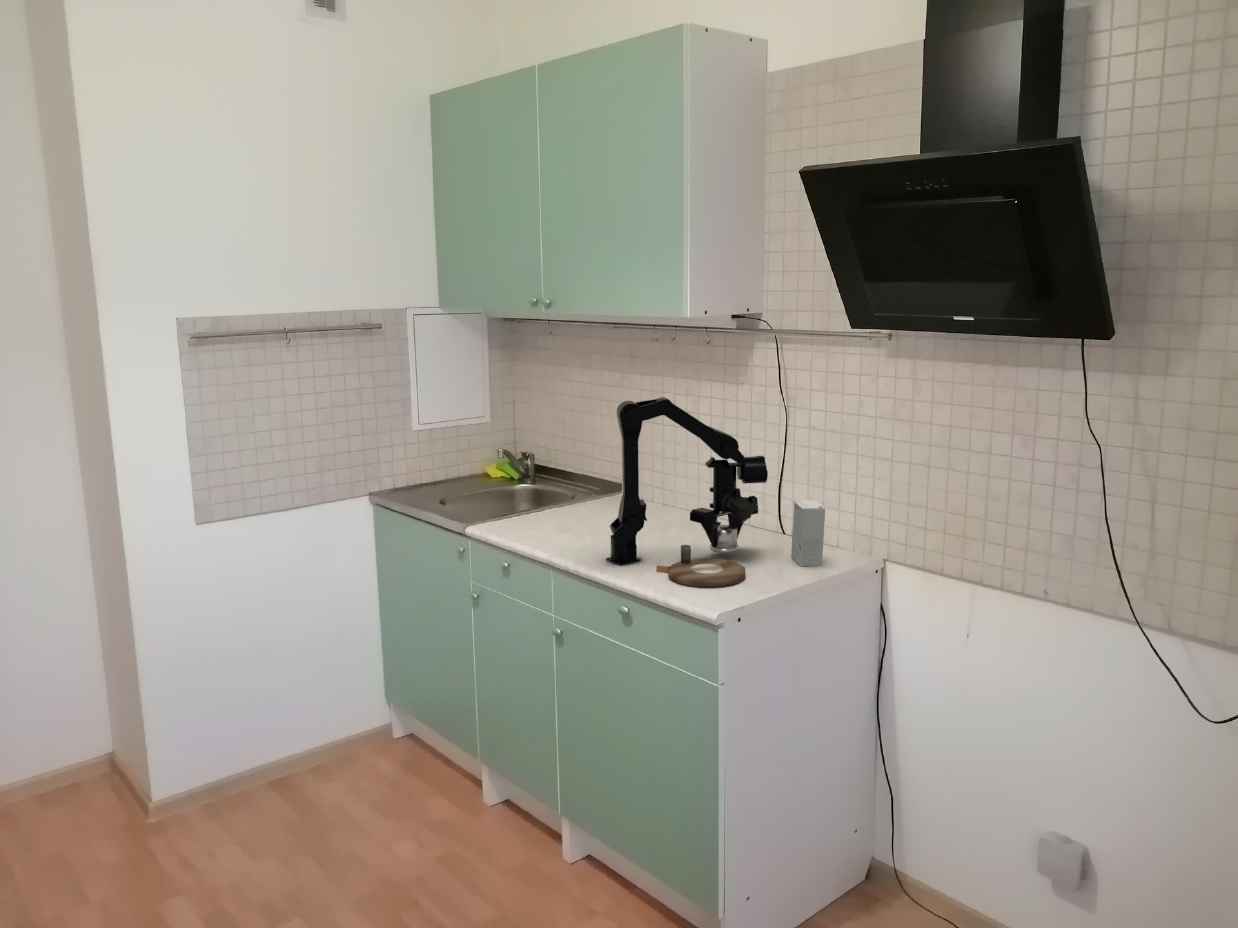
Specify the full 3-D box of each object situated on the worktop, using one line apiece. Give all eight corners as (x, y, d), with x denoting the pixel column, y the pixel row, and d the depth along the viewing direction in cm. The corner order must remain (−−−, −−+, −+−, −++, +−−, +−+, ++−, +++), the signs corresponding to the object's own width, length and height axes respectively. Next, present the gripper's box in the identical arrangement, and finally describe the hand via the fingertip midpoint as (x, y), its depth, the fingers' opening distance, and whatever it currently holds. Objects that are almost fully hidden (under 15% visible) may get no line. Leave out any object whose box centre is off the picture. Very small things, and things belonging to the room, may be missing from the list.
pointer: (656, 571, 234) (656, 565, 234) (657, 570, 235) (657, 564, 235) (668, 572, 233) (668, 566, 233) (669, 571, 234) (669, 565, 233)
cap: (703, 548, 247) (704, 527, 246) (724, 543, 251) (724, 522, 250) (723, 554, 241) (723, 532, 240) (744, 549, 245) (744, 527, 244)
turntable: (653, 573, 231) (652, 551, 230) (709, 560, 242) (709, 538, 241) (704, 591, 217) (704, 567, 216) (761, 576, 228) (761, 553, 227)
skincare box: (790, 557, 244) (791, 499, 241) (814, 556, 245) (815, 498, 242) (800, 567, 236) (801, 507, 233) (824, 566, 236) (825, 506, 234)
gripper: (719, 494, 231) (719, 558, 234) (774, 484, 242) (773, 545, 245) (688, 487, 240) (688, 548, 243) (742, 477, 251) (742, 536, 254)
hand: (724, 544), depth 246 cm, fingers closed on cap, 6 cm apart
